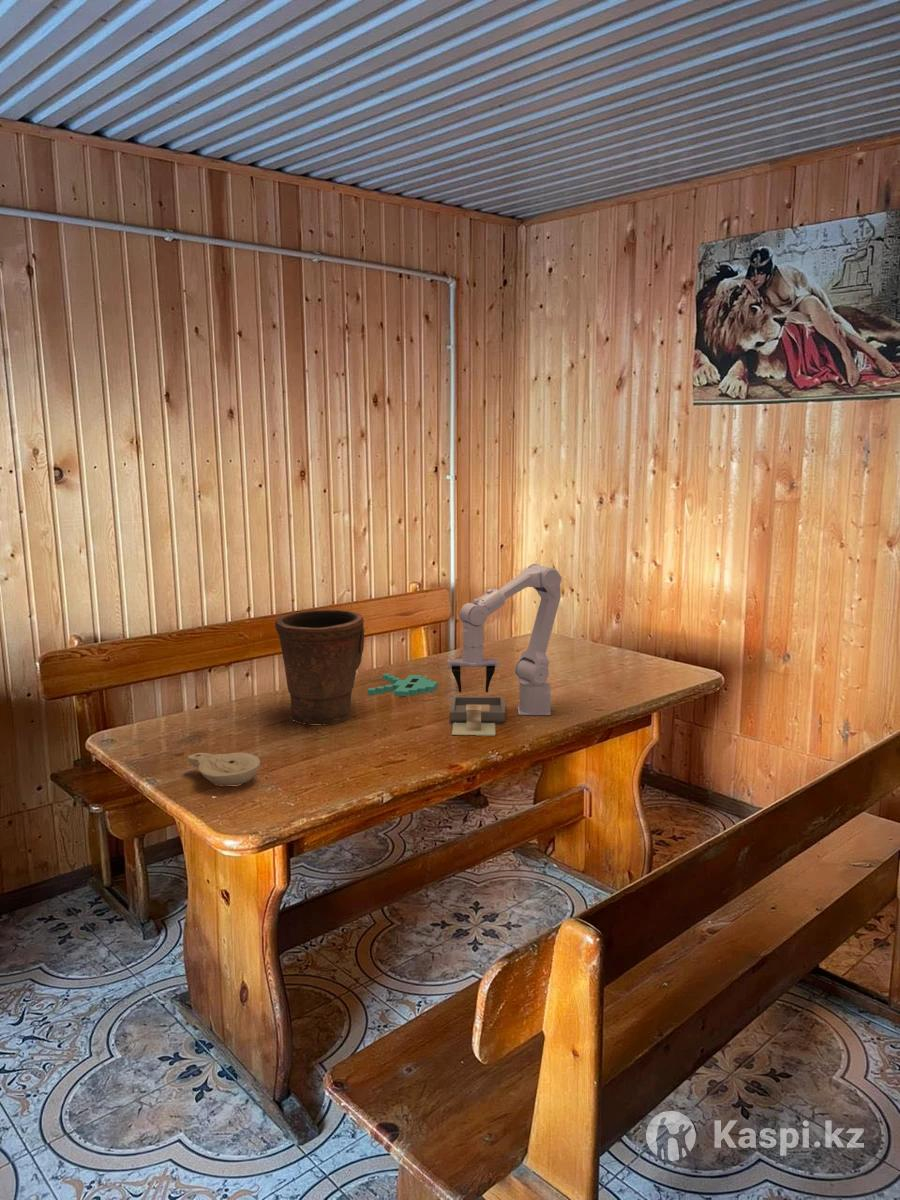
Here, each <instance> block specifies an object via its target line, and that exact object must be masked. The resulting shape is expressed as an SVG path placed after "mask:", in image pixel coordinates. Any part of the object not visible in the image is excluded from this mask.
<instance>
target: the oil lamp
mask: <svg viewBox="0 0 900 1200" xmlns="http://www.w3.org/2000/svg"><path fill="white" fill-rule="evenodd" d="M187 760H188V762H189V763H190V764H191V765H192V766H193V767H196V768H197V769H198V771H199V773H200V774H201V775H202V776H203V777H204V778H205V779H207V780H208V781H209V782H210V783H212V784H213V783H214V784H217V785H223V786H227V785H239V784H243V783H245V782H246V783H248V782H249V781H250V780H251V779H253V778H254V777H255V775H256V774H257V773H258V771H259V769H260V765H261V761H260V758H259V757H258V756H256V755H254V754H251V753H247V752H232V753H230V752H229V753H216V754H212V753H209V752H207V753H206V752H198V753H192V754H190V755H188V756H187ZM247 781H248V782H247ZM246 783H245V784H246ZM214 784H213V785H214ZM243 785H244V784H243Z"/></svg>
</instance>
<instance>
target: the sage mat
mask: <svg viewBox="0 0 900 1200" xmlns="http://www.w3.org/2000/svg"><path fill="white" fill-rule="evenodd" d="M452 735H476V736H475V737H483V736H484V737H496V723H481V731H469V730H467V723H452V731H451V736H452Z"/></svg>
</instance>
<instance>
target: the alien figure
mask: <svg viewBox="0 0 900 1200" xmlns="http://www.w3.org/2000/svg"><path fill="white" fill-rule="evenodd" d="M382 681H386V682H387V683H390V682H392V683H391V684H385V686H380V685H378V686H377V687H369V688H368V689H367V696H376V695H379V694H380V695H381V694H382V695H384V693H392V692H393V691H394V693H393V695H394V696H406V697H405V698H409V697H410V696H415V695H417V696H418V693H425V694H426V693H434V692H435V690H437V688H438V681H435V680H433V678H432V679H431V678H429V679H428V677H426V676H425V677H424V676H423V675H421V674H409V675H407V677H406V678H405V679H401V678H400V677H396V675H392V673H383V675H382ZM393 684H394V685H393ZM433 691H434V692H433ZM408 696H409V697H408Z"/></svg>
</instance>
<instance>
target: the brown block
mask: <svg viewBox="0 0 900 1200" xmlns="http://www.w3.org/2000/svg"><path fill="white" fill-rule="evenodd" d="M467 730H469V731H481V706H467Z"/></svg>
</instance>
